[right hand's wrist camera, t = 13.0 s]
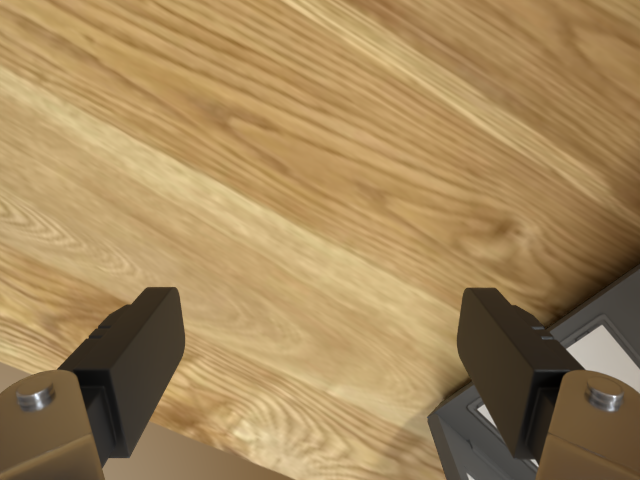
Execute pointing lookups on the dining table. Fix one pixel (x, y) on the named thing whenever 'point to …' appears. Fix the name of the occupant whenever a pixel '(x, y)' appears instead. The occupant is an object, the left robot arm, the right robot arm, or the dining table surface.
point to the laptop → (582, 343)
